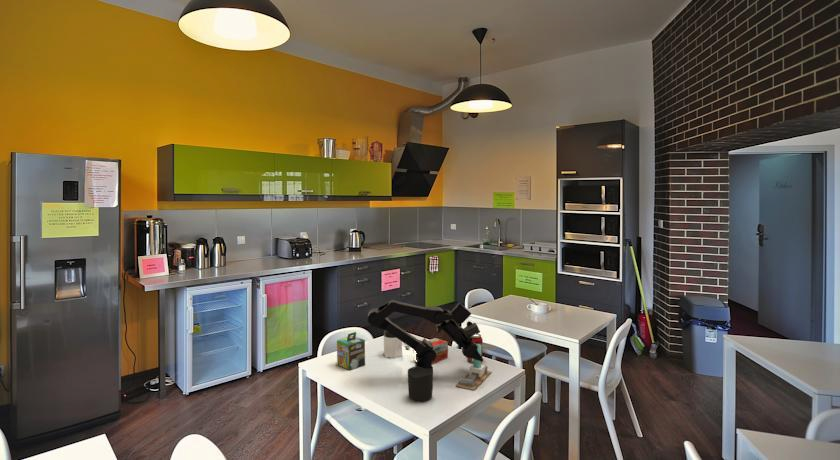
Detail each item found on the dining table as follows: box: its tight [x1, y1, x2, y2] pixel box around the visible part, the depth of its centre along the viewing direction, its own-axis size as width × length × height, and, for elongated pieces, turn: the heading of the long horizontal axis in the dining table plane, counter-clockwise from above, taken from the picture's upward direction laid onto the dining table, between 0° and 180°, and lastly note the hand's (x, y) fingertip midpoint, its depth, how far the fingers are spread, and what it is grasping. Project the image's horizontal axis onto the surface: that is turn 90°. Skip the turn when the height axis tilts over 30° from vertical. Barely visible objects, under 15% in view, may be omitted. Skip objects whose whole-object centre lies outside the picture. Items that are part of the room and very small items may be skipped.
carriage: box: [468, 344, 486, 377], centre depth 184 cm, size 5×5×12 cm
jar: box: [383, 330, 403, 359], centre depth 210 cm, size 9×8×12 cm
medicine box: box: [427, 337, 449, 365], centre depth 204 cm, size 15×8×8 cm, turn 137°
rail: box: [454, 364, 493, 391], centre depth 181 cm, size 20×8×3 cm, turn 152°
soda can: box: [466, 333, 484, 364], centre depth 202 cm, size 7×7×12 cm
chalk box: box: [336, 331, 366, 371], centre depth 197 cm, size 9×9×15 cm
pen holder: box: [407, 366, 434, 403], centre depth 165 cm, size 9×9×10 cm
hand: (480, 357), depth 184 cm, fingers open, 8 cm apart
